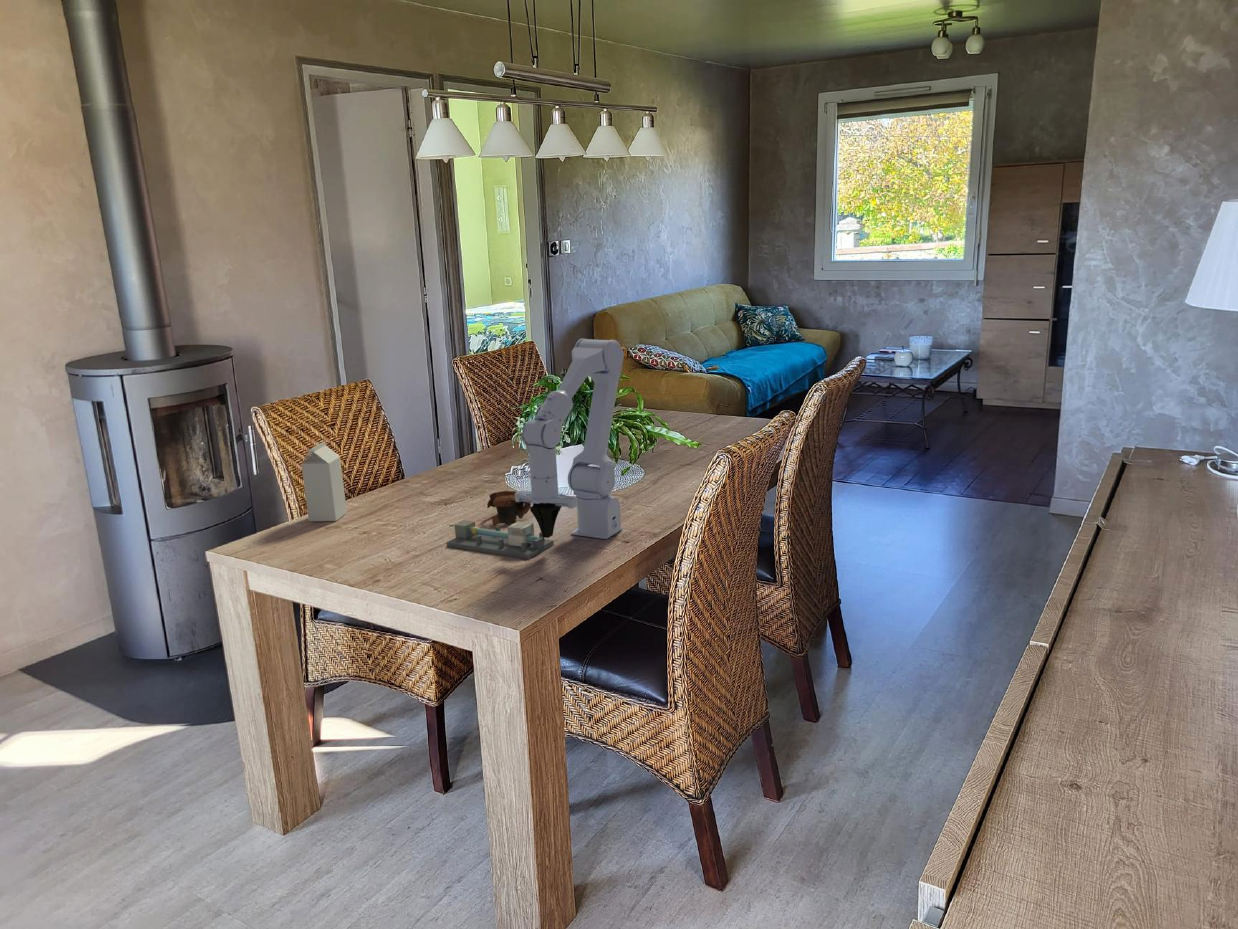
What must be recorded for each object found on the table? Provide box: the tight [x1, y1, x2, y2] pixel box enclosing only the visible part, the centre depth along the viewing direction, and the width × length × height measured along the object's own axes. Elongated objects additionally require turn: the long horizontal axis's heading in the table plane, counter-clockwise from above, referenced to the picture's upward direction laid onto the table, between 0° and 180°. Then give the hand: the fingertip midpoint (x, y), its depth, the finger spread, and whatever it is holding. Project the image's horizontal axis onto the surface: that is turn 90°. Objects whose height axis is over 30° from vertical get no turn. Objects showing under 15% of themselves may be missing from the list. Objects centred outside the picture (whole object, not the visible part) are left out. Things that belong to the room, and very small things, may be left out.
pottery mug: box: [486, 490, 532, 526], centre depth 223 cm, size 12×10×8 cm
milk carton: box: [300, 440, 348, 522], centre depth 229 cm, size 7×7×19 cm
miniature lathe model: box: [446, 519, 555, 560], centre depth 204 cm, size 22×10×4 cm, turn 61°
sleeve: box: [507, 521, 535, 546], centre depth 201 cm, size 4×4×4 cm
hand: (547, 536), depth 197 cm, fingers closed
